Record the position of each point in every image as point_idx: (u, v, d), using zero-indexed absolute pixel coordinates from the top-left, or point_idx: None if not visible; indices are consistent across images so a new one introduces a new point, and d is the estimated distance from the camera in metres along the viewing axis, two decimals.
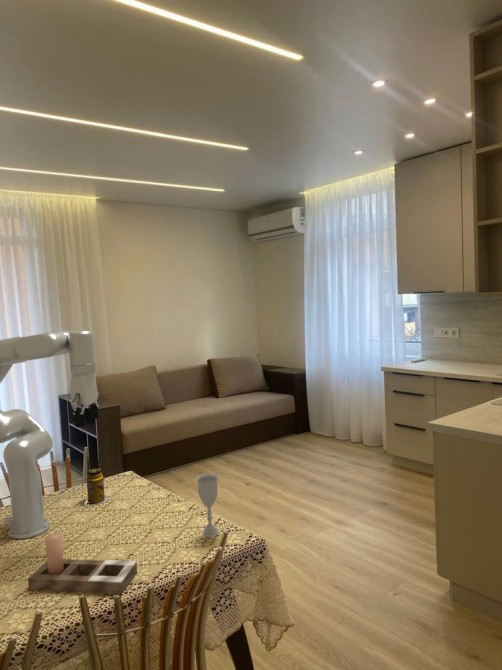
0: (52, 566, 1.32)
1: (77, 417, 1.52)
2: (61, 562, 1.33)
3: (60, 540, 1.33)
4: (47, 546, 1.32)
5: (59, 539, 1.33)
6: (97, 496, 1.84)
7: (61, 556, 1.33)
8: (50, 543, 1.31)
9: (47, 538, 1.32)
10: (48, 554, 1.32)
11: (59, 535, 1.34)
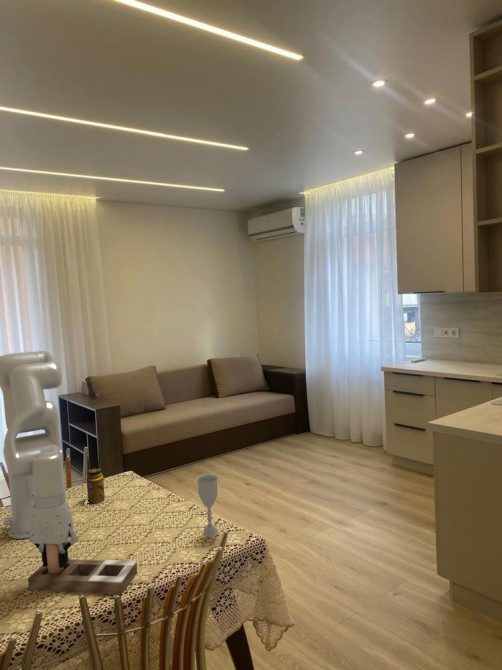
0: (52, 566, 1.32)
1: (65, 554, 1.33)
2: None
3: None
4: (47, 546, 1.32)
5: None
6: (97, 496, 1.84)
7: None
8: None
9: None
10: (48, 554, 1.32)
11: None
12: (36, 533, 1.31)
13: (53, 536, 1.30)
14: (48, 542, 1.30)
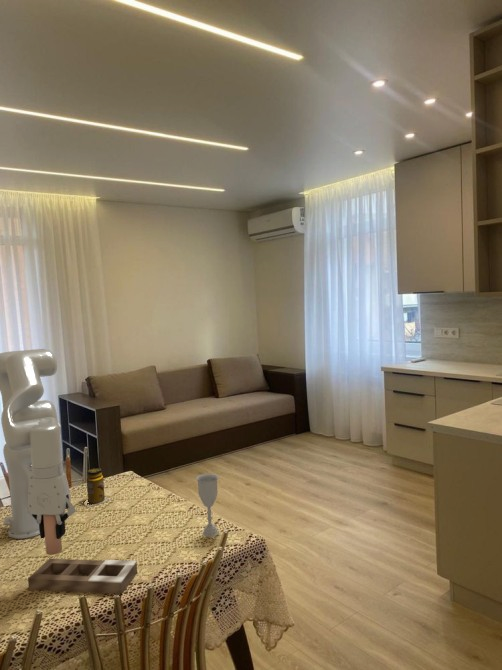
0: (49, 537, 1.32)
1: (62, 526, 1.32)
2: None
3: None
4: (45, 517, 1.31)
5: None
6: (97, 496, 1.84)
7: None
8: (47, 515, 1.31)
9: None
10: (45, 525, 1.32)
11: None
12: (33, 504, 1.31)
13: (50, 507, 1.30)
14: (45, 513, 1.30)
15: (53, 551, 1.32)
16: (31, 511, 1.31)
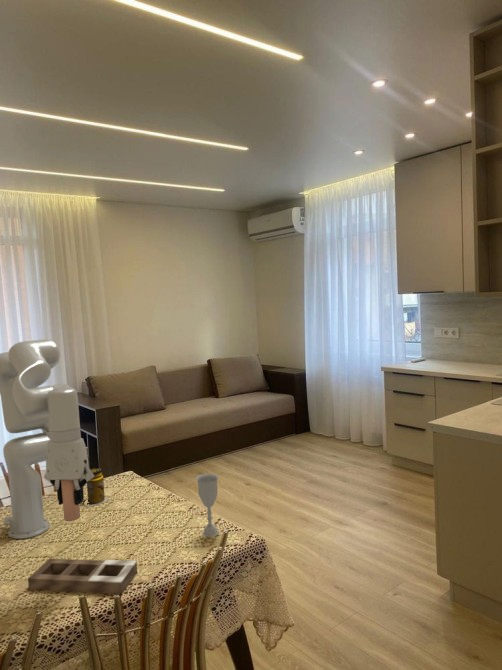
0: (67, 503, 1.29)
1: (81, 492, 1.30)
2: None
3: None
4: (63, 482, 1.29)
5: None
6: (97, 496, 1.84)
7: None
8: (65, 480, 1.29)
9: None
10: (63, 491, 1.29)
11: None
12: (51, 469, 1.29)
13: (69, 471, 1.28)
14: (63, 478, 1.28)
15: (71, 517, 1.30)
16: (49, 476, 1.29)
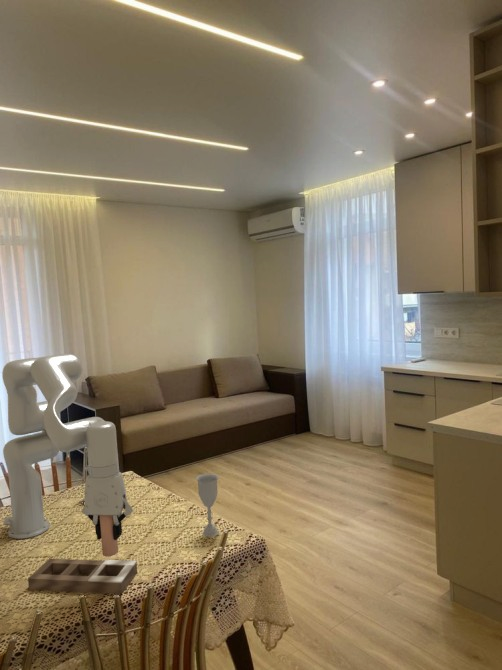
0: (106, 538, 1.28)
1: (119, 526, 1.29)
2: None
3: None
4: (102, 517, 1.28)
5: None
6: None
7: None
8: (104, 515, 1.28)
9: None
10: (102, 526, 1.28)
11: None
12: (90, 504, 1.28)
13: (108, 507, 1.27)
14: (103, 513, 1.27)
15: (110, 552, 1.29)
16: (88, 512, 1.28)
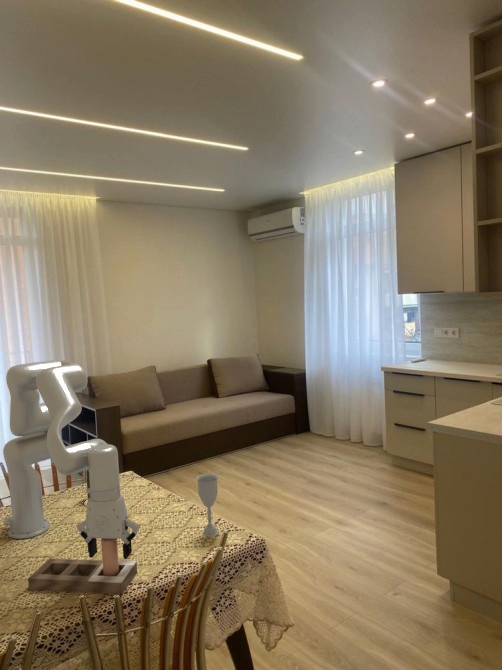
0: (108, 569, 1.29)
1: (129, 545, 1.29)
2: (116, 564, 1.30)
3: (116, 542, 1.30)
4: (104, 548, 1.29)
5: (115, 541, 1.30)
6: None
7: (117, 558, 1.31)
8: (106, 545, 1.29)
9: (103, 540, 1.30)
10: (104, 556, 1.29)
11: None
12: (92, 527, 1.28)
13: (109, 530, 1.27)
14: (104, 536, 1.28)
15: None
16: (89, 535, 1.28)
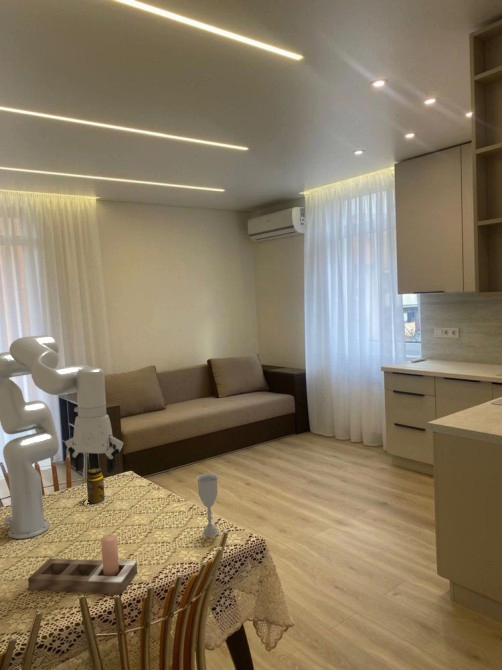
0: (108, 569, 1.29)
1: (113, 461, 1.39)
2: (116, 564, 1.30)
3: (116, 542, 1.30)
4: (104, 548, 1.29)
5: (115, 541, 1.30)
6: (97, 496, 1.84)
7: (117, 558, 1.31)
8: (106, 545, 1.29)
9: (103, 540, 1.30)
10: (104, 556, 1.29)
11: (114, 537, 1.31)
12: (79, 442, 1.38)
13: (95, 445, 1.37)
14: (90, 451, 1.38)
15: None
16: (76, 449, 1.38)
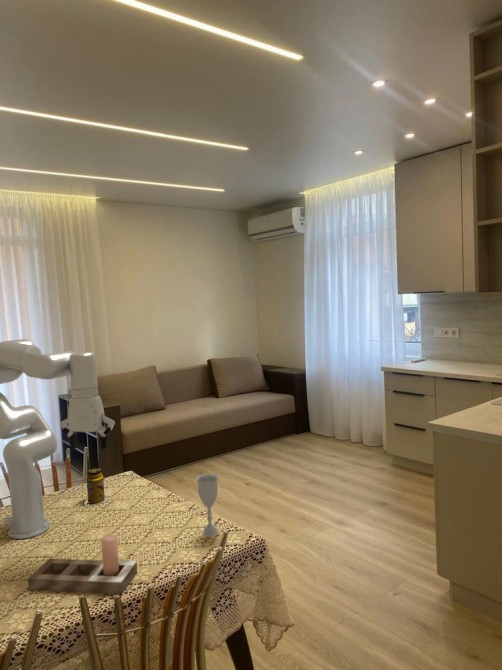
0: (108, 569, 1.29)
1: (106, 438, 1.49)
2: (117, 564, 1.30)
3: (116, 542, 1.30)
4: (104, 548, 1.29)
5: (115, 541, 1.30)
6: (97, 496, 1.84)
7: (117, 558, 1.31)
8: (106, 545, 1.29)
9: (103, 540, 1.30)
10: (104, 556, 1.29)
11: (115, 537, 1.31)
12: (73, 422, 1.47)
13: (88, 424, 1.47)
14: (83, 430, 1.47)
15: None
16: (71, 429, 1.48)
